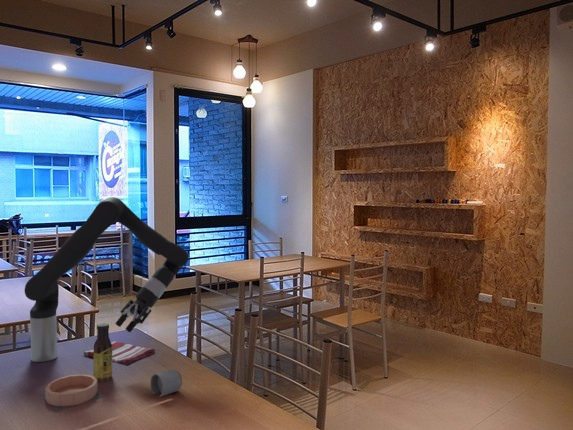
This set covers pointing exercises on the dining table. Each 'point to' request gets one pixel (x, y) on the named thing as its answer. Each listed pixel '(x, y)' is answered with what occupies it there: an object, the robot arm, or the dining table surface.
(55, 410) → the mat
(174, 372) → the ceramic mug
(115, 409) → the dining table surface
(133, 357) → the dish towel
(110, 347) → the sauce bottle
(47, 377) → the dining table surface
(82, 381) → the bowl
